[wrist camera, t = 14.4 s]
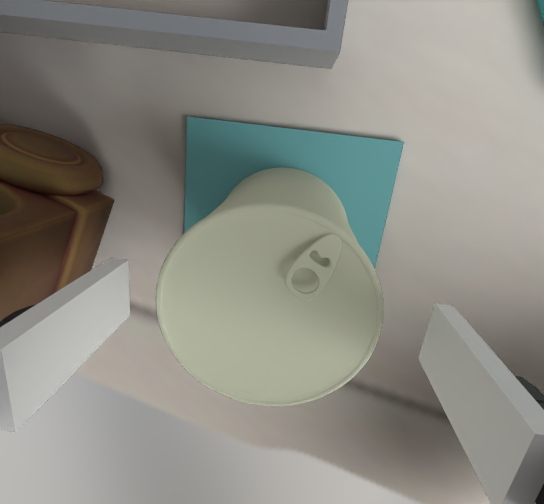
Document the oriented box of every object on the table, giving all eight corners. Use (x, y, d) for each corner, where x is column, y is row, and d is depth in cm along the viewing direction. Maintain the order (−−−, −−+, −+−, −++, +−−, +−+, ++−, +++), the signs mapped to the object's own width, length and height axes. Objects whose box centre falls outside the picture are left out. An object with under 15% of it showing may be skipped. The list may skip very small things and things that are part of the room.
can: (376, 222, 24) (443, 307, 12) (294, 314, 27) (288, 450, 15) (268, 138, 22) (233, 147, 11) (194, 244, 25) (108, 337, 14)
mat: (359, 328, 27) (360, 330, 27) (184, 303, 28) (182, 306, 27) (402, 141, 22) (404, 142, 22) (188, 116, 23) (186, 116, 22)
